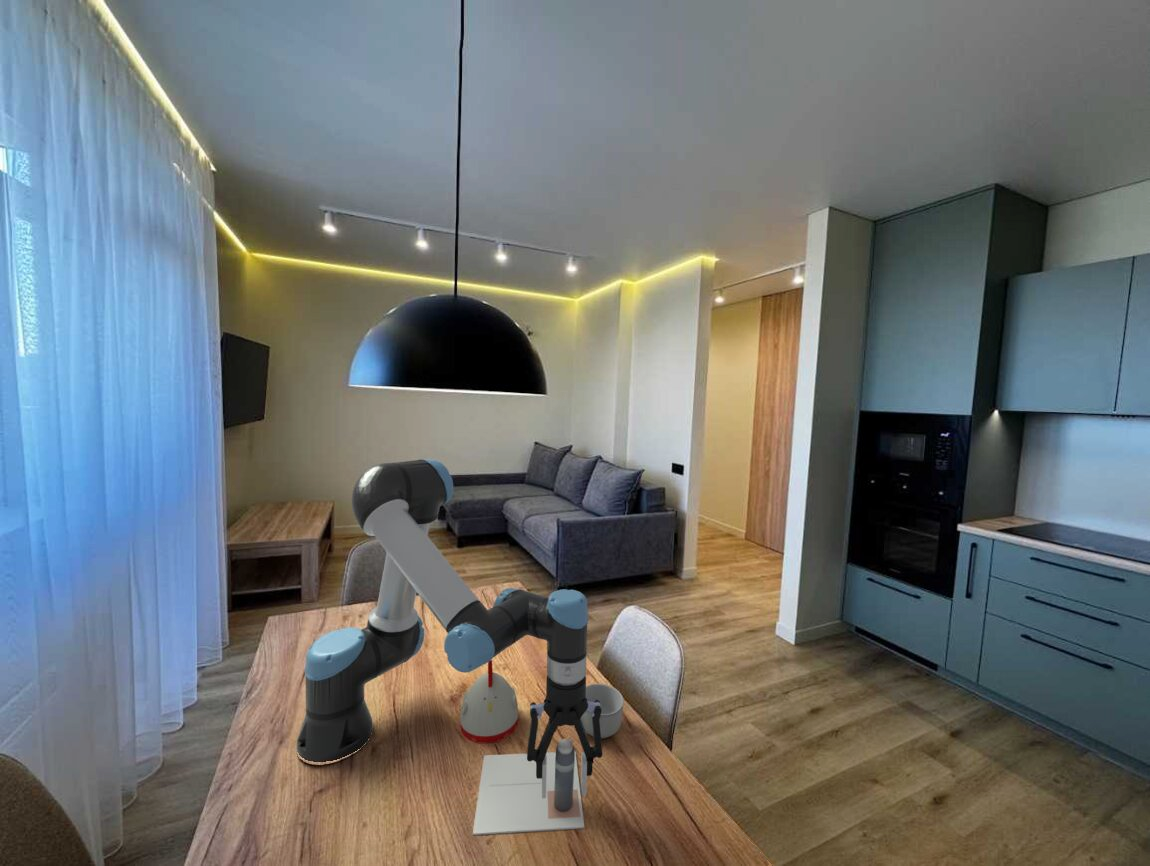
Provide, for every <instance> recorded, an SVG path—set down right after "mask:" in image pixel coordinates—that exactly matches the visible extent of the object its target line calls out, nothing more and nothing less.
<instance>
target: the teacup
mask: <svg viewBox="0 0 1150 866" xmlns="http://www.w3.org/2000/svg"><path fill="white" fill-rule="evenodd" d="M586 698H587V701H590V702H594V701H595V700H599V701H600V705H601V710H602V712H601V716H600V719H599V722H600V733H601V739H605V738H609V737H611V736H613V735H615V734H616V733H617V732H618V731H619V730H620V727H621V724H622V720H623V708H624V702H625V701H624V696H623V695H622V693H621V692H620V691H619V690H618V689H617V688H615V687H614V686H612V685H608V684H604V683H593V684H588V685H586ZM581 721H582V724H583V726H584V729H585V732H586V734H588V735H589V736H590V737H593V738H594V734H593V724H592V715H590V713H589V710H588V709H587V710H586V711H585V713H584V714H583V715H582V717H581Z"/></svg>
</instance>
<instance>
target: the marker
mask: <svg viewBox="0 0 1150 866" xmlns="http://www.w3.org/2000/svg"><path fill="white" fill-rule="evenodd" d="M555 752H556V757H555V787H554V807H555V808H556V809H557V810H558V811H560V812H567V811H569V810H570V809H571V808H572V805H573V781H574V763H575V758H574V756H575V752H576V748H575V746H574V744H573V741H572V740H571V739H569V738H562V739H560V740H559V741H558V743H557V745H556V747H555Z"/></svg>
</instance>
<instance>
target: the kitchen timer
mask: <svg viewBox="0 0 1150 866" xmlns="http://www.w3.org/2000/svg"><path fill="white" fill-rule="evenodd" d="M518 707H519V706H518V699H517V693H516V689H515V688H514V686H513V685H512V686H511V684H510V683H509V681H507V680H506V679H505V677H504V676H503V675H501V674H499V673H496V672H495V671H494V672H493V660H492V659H491V661H489V662H487V672H485V673H484V674H482V675H480V676H479V677H478V678H476V680H475V681H474V682H473V683H472V685H471V686H470V687H469V689H468V691H467V690H465V692H464V694H463V697H462V703H461V708H460V716H459V729H460V732H461V734H462V735H463V737H464V738H466V739H467V740H469V741H471V742H475V743H478V744H491V743H496V742H499V741H501V740H504V739H505V738H507V737H509V736H511V734H512V733H513V732H514V731H515V730H516V728H517V726H518V725H519V708H518Z"/></svg>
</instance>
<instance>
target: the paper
mask: <svg viewBox="0 0 1150 866" xmlns="http://www.w3.org/2000/svg"><path fill="white" fill-rule="evenodd" d="M555 757H556V751H554V752H547V753H546V761H547V771H546V798H542V778H540V779H537V777H536V762H535V761H533V760H532V761H528V760H527V753H509V754H491V755H490V754H489V755H488V754H487V755H483V762H482V769H481V775H480V781H479V788H478V796H477V801H476V808H475V809H476V810H475V814H474V815H475V816H474V823H473V828H472V829H473V830H472V836H482V834H483V835H497V834H499V833H500V834H513V833H527V832H528V833H531V832H532V833H533V832H544V831H545V832H546V831H561V830H579V829H585V821H584V813H583V804H582V797H581V796H582V793H581V785H580V780H579V770H578V762H577V753H576V751H575V756H574V758H575V763H574V781H573V805H572V808H571V809H570V810H569V811H567V812H560V811H558V810H557V809H556V808H555V807H554V787H555Z"/></svg>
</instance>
